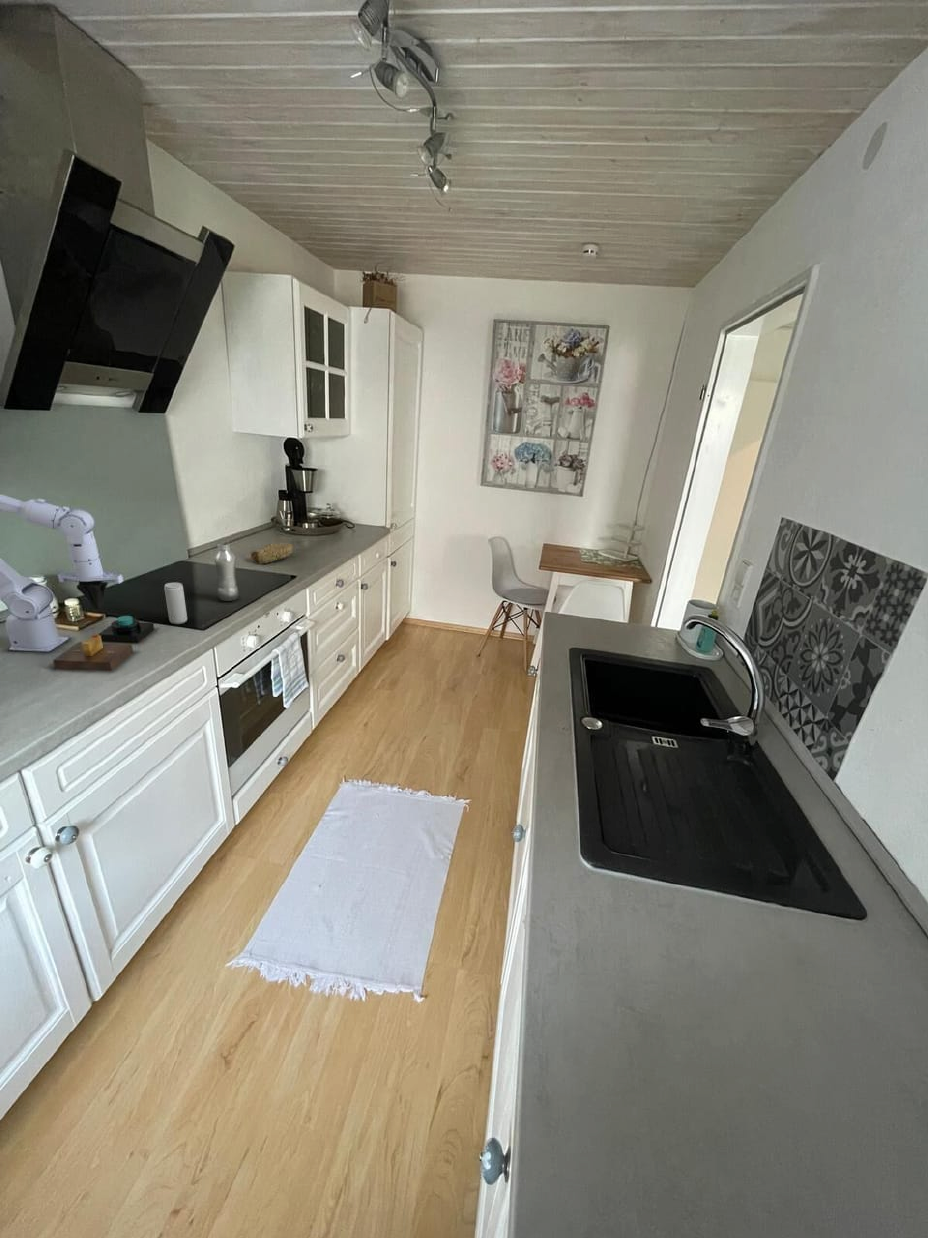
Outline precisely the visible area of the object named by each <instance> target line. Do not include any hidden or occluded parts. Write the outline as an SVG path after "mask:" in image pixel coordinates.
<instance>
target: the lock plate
mask: <svg viewBox="0 0 928 1238" xmlns="http://www.w3.org/2000/svg"><path fill="white" fill-rule="evenodd" d="M83 642H84V641H78V642H76V643H75V644H74V645H73V646H71V647H69V648H68V649H67V650H65V651H64V652H62V653H61V654H60V655H58V656H57V657H55V658H54V659H52V661H53V666H54V669H55V670H75V671H77V670H78V671H99V672H100V671H103V672H113V671H114V670H115V669H116V668H117V667H119V665H120V664H122V663H123V662H125V660H126V659H128V658H129V657H130V656H131V655H132V654H134V649H133V645H132V643H111V642H109V643H108V642H102V645H103V648H102V649H100V650H99V651H98V652H96V653H95V654H94V655H92V656H84V652H83V648H82V643H83Z"/></svg>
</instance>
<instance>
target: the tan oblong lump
mask: <svg viewBox="0 0 928 1238" xmlns="http://www.w3.org/2000/svg"><path fill="white" fill-rule="evenodd" d="M293 551H294V546H293V545H292V544H291V543H288V542H287V543H285V542H274V543H269V544H266V545H265V546H263V547H260V548H259V549H257V550H253V551H251V552H250V557H251V558H252V560H254V561H256V562H258V563H259V565H264V564H268V563H272V562H276V561H280V560H284V559H286V558H287V557H289V556H291V554H292V553H293Z"/></svg>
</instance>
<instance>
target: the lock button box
mask: <svg viewBox="0 0 928 1238" xmlns="http://www.w3.org/2000/svg"><path fill="white" fill-rule="evenodd" d="M132 619H133V624H131V625H126V626H119V625H118V623H117V619H116V620H114V621H112V622H111V624H110V625H109V626H108V627H106V628H105V629H103V630H102V631H101V632H99V633H98V634H97V635H100V636H101V640H102V642H103V643H108V642H109V643H124V644H139V643H141V641H143V640H144V639H145V638H146V637H147V636H149V635H150V634H151V633H152V632H153V631H155V626H154V623H153V622H140V619H138V618H136V617H132Z"/></svg>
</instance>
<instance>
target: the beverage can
mask: <svg viewBox="0 0 928 1238" xmlns="http://www.w3.org/2000/svg"><path fill="white" fill-rule="evenodd" d="M164 594H165V602H166V607H167V613H168V620H169V622H170V623H171V624H173V625H181V624H185V623H186V622H187V621H188V614H187V605H186V600H185V598H186V597H185V591H184V585H183V583H181V582H168V583H165V584H164Z"/></svg>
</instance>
